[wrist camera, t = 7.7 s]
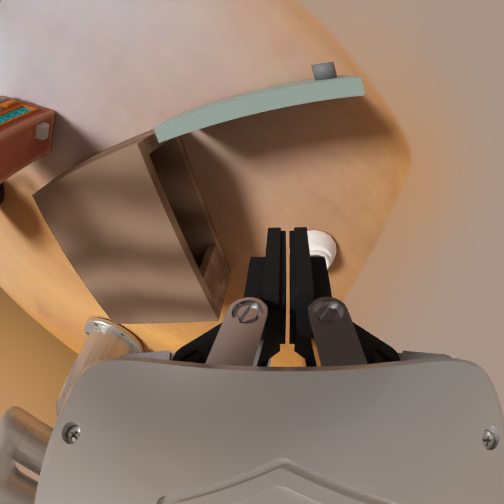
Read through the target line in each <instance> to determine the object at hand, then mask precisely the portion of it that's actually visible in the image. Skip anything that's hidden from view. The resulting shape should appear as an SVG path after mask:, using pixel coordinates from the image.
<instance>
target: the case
mask: <svg viewBox="0 0 504 504" xmlns="http://www.w3.org/2000/svg"><path fill="white" fill-rule="evenodd" d="M32 196H33V198H34V200H35V202H36V204H37V206H38V208H39V210H40V212H41V213H42V215H43V217H44V219H45V221H46V223H47V225H48V226H49V228H50V230H51V232H52V233H53V235H54V237H55V239H56V240H57V242H58V244H59V245H60V247H61V249H62V250H63V252H64V253H65V255H66V257H67V258H68V260H69V261H70V263H71V265H72V266H73V268H74V269H75V271H76V272H77V274H78V275H79V277H80V278H81V280H82V281H83V282H84V284H85V285H86V287H87V288H88V290H89V291H90V292H91V294H92V295H93V296H94V298H95V299H96V301H97V302H98V303H99V305H100V306H101V307H102V309H103V310H104V311H105V313H106V314H107V315H108V316H109V318H110V319H111V320H112V321H113V323H114V324H142V323H181V322H203V321H218V320H219V316H220V312H221V308H222V304H223V300H224V296H225V293H226V289H227V285H228V281H229V277H230V273H231V270H230V268H229V265H228V263H227V260H226V258H225V255H224V253H223V250H222V247H221V245H220V242H219V240H218V237H217V235H216V232H215V229H214V227H213V224H212V221H211V219H210V216H209V214H208V211H207V208H206V206H205V203H204V200H203V198H202V195H201V192H200V190H199V187H198V184H197V182H196V179H195V176H194V173H193V171H192V168H191V165H190V162H189V160H188V157H187V154H186V151H185V149H184V146H183V143H182V140H181V137H180V136H177V137H174V138H171V139H169V140H166V141H163V142H160V143H159V142H158V139H157V136H156V134H155V131H154V129H153V130H150V131H148V132H145V133H143V134H140V135H138V136H135V137H133V138H131V139H128V140H126V141H124V142H121V143H119V144H117V145H115V146H112V147H110V148H108V149H106V150H104V151H102V152H99V153H97V154H95V155H93V156H91V157H89V158H87V159H85V160H83V161H81V162H79V163H78V164H76V165H74V166H72V167H71V168H69V169H68V170H66V171H65V172H63V173H62V174H61V175H59V176H58V177H56V178H55V179H53V180H52V181H51V182H49V183H48V184H47V185H45V186H44V187H43V188H41V189H40V190H39V191H37V192H36V193H35V194H33V195H32Z"/></svg>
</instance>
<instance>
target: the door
mask: <svg viewBox="0 0 504 504" xmlns="http://www.w3.org/2000/svg"><path fill="white" fill-rule="evenodd" d="M311 66H312V70H313V73H314V77H315V79H311V80H305V81H299V82H293V83H288V84H283V85H278V86H274V87H269V88H265V89H260V90H256V91H252V92H248V93H244V94H241V95H237V96H233V97H230V98H226V99H223V100H219V101H216V102H213V103H210V104H206V105H203V106H200V107H197V108H194V109H191V110H188V111H186V112H183V113H181V114H179V115H177V116H175V117H173V118H171V119H169V120H167V121H165V122H163V123H161V124H159V125H157V126H155V127H154V128H153V129H154V131H155V134H156V136H157V139H158V142H159V143H160V142H163V141H166V140H169V139H171V138H174V137H177V136H180V135H183V134H186V133H189V132H192V131H195V130H198V129H201V128H205V127H208V126H211V125H215V124H218V123H222V122H225V121H229V120H233V119H236V118H240V117H244V116H248V115H252V114H256V113H260V112H265V111H269V110H274V109H278V108H283V107H288V106H293V105H299V104H304V103H310V102H316V101H323V100H329V99H337V98H345V97H353V96H363V95H365V94H364V89H363V84H362V79H361V77H355V76H346V75H339V76H337V75H336V70H335V66H334V62H330V63H322V64H315V65H311Z"/></svg>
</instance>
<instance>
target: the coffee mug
mask: <svg viewBox="0 0 504 504" xmlns="http://www.w3.org/2000/svg"><path fill="white" fill-rule="evenodd" d="M3 200H4V187H3V184H2V183H1V184H0V204H1V203H2V202H3Z"/></svg>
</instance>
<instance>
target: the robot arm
mask: <svg viewBox="0 0 504 504" xmlns="http://www.w3.org/2000/svg"><path fill="white" fill-rule="evenodd" d="M289 232H290V344H295V352H297V353H298V354H299V355H300V356H302V357H303V364H304V367H270V363H271V357H272V356H274V355H275V354H276V353H278V352H279V351H280V344H285V333H286V231H281V228H268V235H267V246H266V256H265V257H251V258H250V263H249V269H248V275H247V281H246V287H245V293H244V298H241V299H239V300H236V301H235V302H233V303H232V304H231V305H230V307H229V308H228V310H227V313H226V315H225V318H224V320H223V322H222V323H221V324H219V325H217V326H216V327H214V328H213V329H211V330H209V331H208V332H206V333H204V334H203V335H201V336H200V337H198V338H196V339H195V340H193V341H191V342H190V343H188V344H186V345H185V346H183V347H181V348H180V349H179V350H178V351H177V352H176V353H171V352H170V351H159V352H146V353H144V349H143V346H142V345H141V343H140V342H139V340H138V339H137V338H136V337H135V336H134V335H133V334H132V333H130V332H129V331H128V330H126V329H125V328H123V327H122V326H120V325H118V324H114V323H113V322H112V321H109V320H106V319H102V318H91V319H89V320H88V321H87V322H86V324H85V332H86V335H87V336H88V337H87V339H86V341H85V343H84V345H83V347H82V349H81V351H80V353H79V355H78V357H77V358H76V361H75V362H74V365H73V367H72V369H71V371H70V373H69V375H68V377H67V379H66V381H65V383H64V385H63V388H62V390H61V392H60V394H59V396H58V399H57V402H56V411H57V416H58V417H57V420H56V423H55V425H54V428H52V427H50V426H48V425H47V424H45V423H44V422H42V421H41V420H39V419H37V418H36V417H34V416H33V415H31V414H30V413H28V412H27V411H25V410H24V409H22V408H20V407H17V406H12V407H10V408H9V409H7V410H6V412H5V413H4V415H3V417H2V420H1V422H0V504H504V415H503V411H502V408H501V404H500V401H499V398H498V395H497V392H496V390H495V388H494V386H493V383H492V381H491V379H490V377H489V376H488V374H487V373H486V371H485V370H484V369H483V368H482V367H480V366H479V365H477V364H475V363H473V362H470V361H466V360H462V359H457V358H451V357H450V356H448V355H445V354H434V353H422V352H410V351H403V352H402V353H397V352H396V351H395V350H394V349H393V348H392V347H390V346H389V345H387V344H386V343H384V342H383V341H381V340H379V339H378V338H376V337H375V336H373V335H372V334H370V333H369V332H367V331H366V330H364V329H362V328H361V327H359V326H358V325H356V324H355V323H353V322H352V320H351V317H350V315H349V312H348V309H347V307H346V306H345V304H344V303H343V302H341V301H340V300H338V299H336V298H332V295H331V288H330V282H329V276H328V270H327V265H326V259H325V257H310V250H309V242H308V234H307V227H295V228H294V231H289ZM15 461H16V462H18V463H20V464H21V465H23V466H25V467H26V468H28V469H29V470H31V471H33V472H34V473H36V474H38V475H39V476H40V477H39V481H38V482H37V481H35V480H34V479H32V478H30V477H29V476H27V475H25V474H24V473H22V472H21V471H19V470H18V468H17V467H16V465H15Z"/></svg>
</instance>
